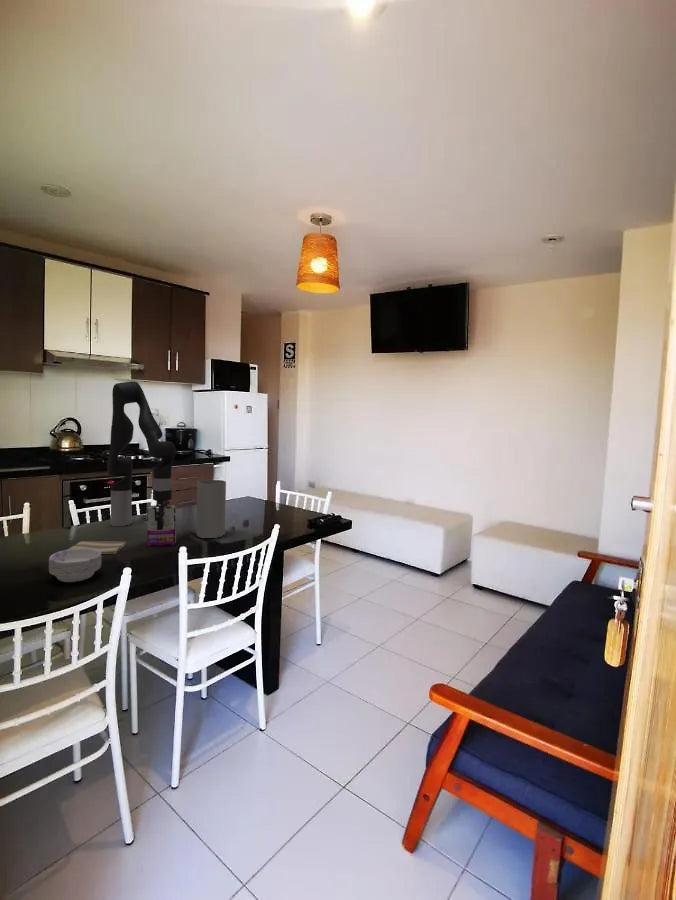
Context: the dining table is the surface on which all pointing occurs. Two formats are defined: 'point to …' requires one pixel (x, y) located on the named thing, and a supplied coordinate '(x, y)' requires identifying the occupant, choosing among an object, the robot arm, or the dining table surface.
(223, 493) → the cylinder vase
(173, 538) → the candy bar box
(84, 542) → the birch board
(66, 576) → the paper bowls
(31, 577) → the dining table surface
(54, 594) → the dining table surface
